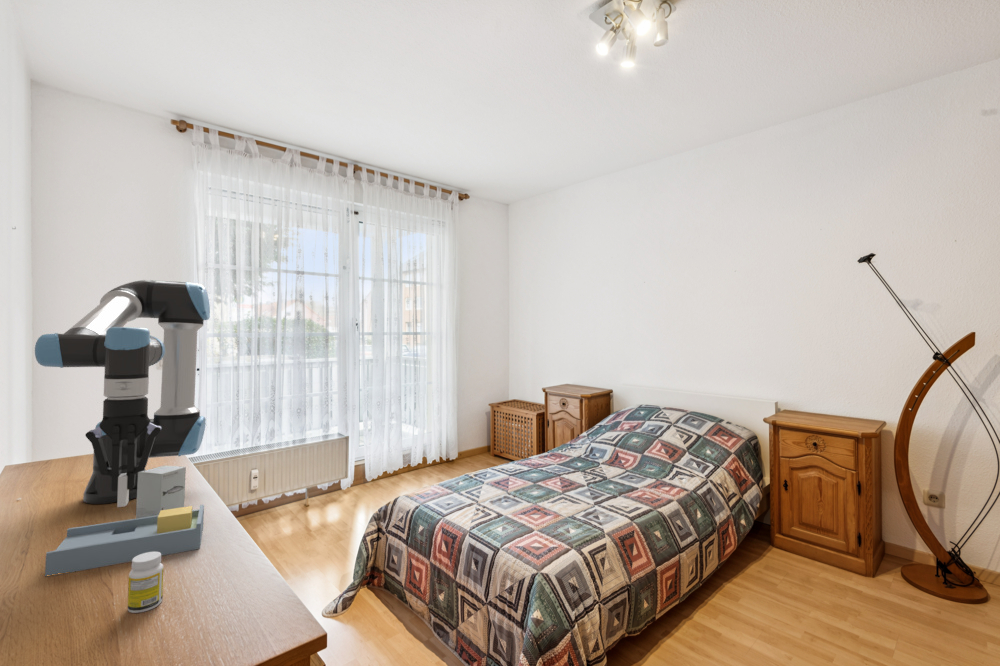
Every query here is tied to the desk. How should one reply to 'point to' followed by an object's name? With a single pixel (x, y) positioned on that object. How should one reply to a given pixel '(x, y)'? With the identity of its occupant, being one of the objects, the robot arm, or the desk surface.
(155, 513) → the supplement box
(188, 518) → the block
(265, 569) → the desk surface
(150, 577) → the supplement bottle
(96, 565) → the tray
